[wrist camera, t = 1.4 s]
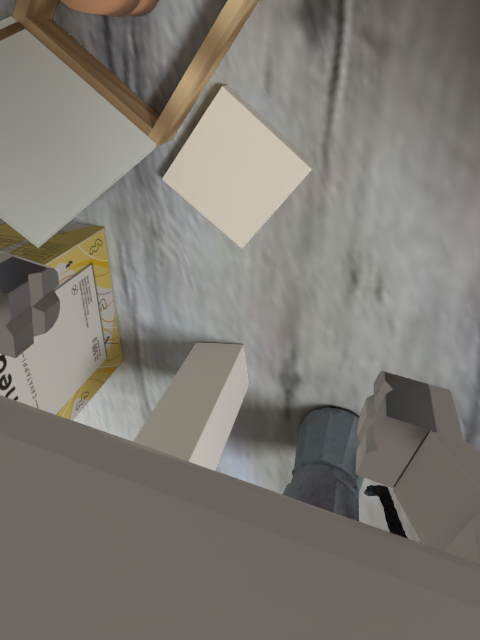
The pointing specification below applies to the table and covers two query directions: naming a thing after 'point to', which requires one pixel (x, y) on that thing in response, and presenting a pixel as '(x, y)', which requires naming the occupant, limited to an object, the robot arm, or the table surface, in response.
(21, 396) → the pasta box
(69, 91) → the propped lid
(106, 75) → the cold frame
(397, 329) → the table surface
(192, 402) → the milk
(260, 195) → the tile
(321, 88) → the table surface
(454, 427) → the robot arm
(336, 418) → the moka pot
